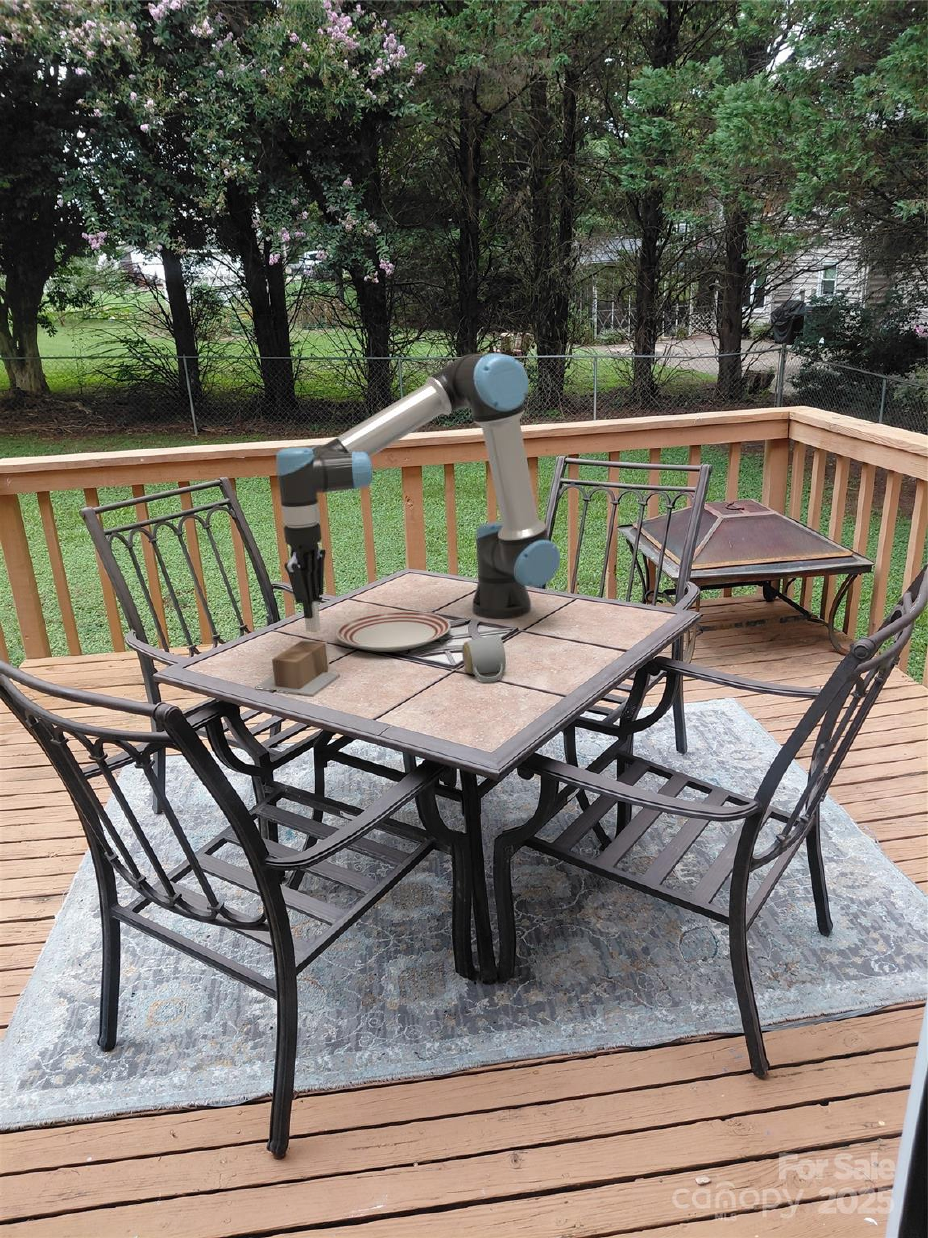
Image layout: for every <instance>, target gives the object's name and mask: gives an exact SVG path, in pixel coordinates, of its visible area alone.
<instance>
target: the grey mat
mask: <svg viewBox="0 0 928 1238" xmlns="http://www.w3.org/2000/svg"><path fill="white" fill-rule="evenodd" d="M339 678H340V673H333V672H326V671H325V672H323V673H322V674H320V675H319V676H318V677H316V678H315V679H314V680H312V681H311V682H309V683H308V684H307V685H305V686H304V687H303V688H301V689H293V688H286V687H278V686H275V680H274V674H272V675H271V676H269V677H268V678H266V679H264V680H263V681H262V682H260V683H259V684H258V685H256V686H255V687H257V688H263V689H269V690H278V691H283V692H288V693H293V694H292V695H296V694H301V695H300V696H304V695H307V696H306V697H311V696H313V697H315V696H316V695H317V694H319V693H320V692H321V691H322V690H324V689H326V688H327V687H328V686H329V685H331V684H332V683H333V682H334V681H336V680H338V679H339ZM259 686H260V687H259ZM320 690H321V691H320ZM319 691H320V692H319ZM318 692H319V693H318ZM288 693H287V694H288ZM315 694H316V695H315ZM314 695H315V696H314Z"/></svg>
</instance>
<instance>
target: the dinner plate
mask: <svg viewBox="0 0 928 1238" xmlns="http://www.w3.org/2000/svg"><path fill="white" fill-rule="evenodd" d="M450 629H451V622H450V621H449V620H448V619H447V618H445V617H443V616H441V615H438V614H435V613H430V612H423V611H412V610H411V611H407V610H406V611H386V612H385V611H384V612H379V613H378V612H377V613H372V614H367V615H363V616H358V617H356V618H353V619H350V620H348V621H346V622H344V623H343V624H341V625H340V626H338V627H337V628H336V630H335V636H336V638H337V639H338V640H339V641H340V642H342V643H343V644H346V645H348V646H351V647H354V648H357V649H362V650H366V651H371V652H379V653H380V652H381V653H384V652H385V653H393V652H394V653H395V652H403V651H409V650H412V649H416V648H420V647H422V646H424V645H427V644H430V643H432V642H434V641H437V640H438V639H440V638H441V637H443V636H445V635H446V634H447V633H449V631H450ZM408 649H409V650H408Z"/></svg>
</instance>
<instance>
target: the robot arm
mask: <svg viewBox="0 0 928 1238" xmlns="http://www.w3.org/2000/svg"><path fill="white" fill-rule="evenodd" d="M528 377H529V376H528V374H527V372H526V369H525V367H524V366H523V364H522V363H521V362H520V361H519V360H517V358H515V357H513V356H511V355H507V354H503V353H497V352H491V353H468V354H466V355H463V356H461V357H458V358H457V359H456V360H454V361H452V362H451V363H448V364H447V365H446V366H444V367H442V368H441V369H439V370H438V371H436V372H435V373H433V374H431V375H430V376H428V377H427V378H426V379H425V384H424V385H422V386H420V387H419V388H417V389H416V390H413V391H412V392H410V393H409V394H407V395H405V396H404V397H402V398H400V399H399V400H397V401H395V402H393V403H392V404H390V405H389V406H386V408H384V409H382V410H380V411H378V412H377V413H375V414H373V415H372V416H370V417H369V418H367V419H366V420H363V421H362V422H360V423H359V424H357V425H355V426H354V427H352V428H350V429H349V430H347V431H345V432H344V433H342V434H340V435H338V436H337V437H336V438H334V439H332V440H330V441H328V442H326V443H325V444H323V445H318V446H317V445H316V446H313V447H311V448H310V447H303V446H300V447H288V448H282V449H280V450H278V452H277V453H276V457H275V459H276V475H277V481H278V488H279V496H280V505H281V513H282V522H283V524H284V527H283V534H284V542H285V543H286V545H289V546H290V553H289V555H290V560H289V562H285V563H284V565H283V567H284V569H285V571H286V572H287V575H288V578H289V582H290V586H291V589H292V593H293V597H294V600H295V603H296V604H302V609H303V617H304V623H305V631H306V632H308V633H309V632H311V633H319V632H320V631H321V630H322V629H321V623H320V620H321V619H320V610H319V609H320V608H319V602H321V601H323V597H322V596H323V595H324V587H325V586H324V581H325V580H324V579H325V577H324V576H325V575H324V574H325V558H326V554H327V553H326V552H327V551H326V549H320V548H319V544H318V543H320V542H321V541H322V529H321V524H320V523H319V522H320V521H321V517H320V516H321V515H320V509H319V499H318V494H322V493H329V492H338V491H348V490H358V489H361V488H363V489H364V488H367V487H369V486H370V485H371V484H372V482H373V475H374V474H373V464H372V460H371V458H373V456H374V455H377V454H378V453H380V452H381V451H384V450H385V449H386V448H388V447H389V446H391V445H394V443H396V442H398V441H399V440H401V439H403V438H404V437H406V436H408V435H410V434H411V433H413V432H414V431H416V430H417V429H419V428H420V427H423V426H424V425H426V424H427V423H429V422H431V421H433V420H434V419H435V418H438V417H439V416H441V415H442V414H443V415H446V416H449V415H450V414H452V413H454V412H456V411H458V410H461V409H463V408H468V407H470V410H471V416H472V420H473V422H474V424H476V425H478V426H479V427H481V430H482V434H483V440H484V444H485V450H486V453H487V458H488V463H489V467H490V473H491V477H492V482H493V487H494V492H495V496H496V502H497V506H498V512H499V517H500V520H501V521H493V522H486V523H483V524H480V525H479V526H478V527H476V533H475V534H476V536H475V542H476V560H477V578H478V579H477V585H476V588H475V592H474V595H473V598H472V599H473V600H472V603H471V604H472V612H473V614H475V615H477V616H480V617H482V618H489V619H491V618H492V619H507V618H509V619H511V618H516V617H521V616H523V615H526V614H527V613H529V612H530V611H531V610H532V605H531V604H532V601H531V597H530V595H529V593H528V589H527V587H530V588H533V587H534V588H536V587H542V586H544V585H546V584H547V583H548V582H550V581H551V580H552V579H553V578H554V577H555V574H556V573H557V572H558V569H559V568H560V564H561V553H560V550H559V548H558V547H557V545H556V544H555V543H554V542H553V541H551V540H549V535H548V529H547V526H546V523H545V522H543V521H542V520H541V519H539V517H538V511H537V506H536V501H535V496H534V490H533V486H532V485H533V484H532V479H531V475H530V474H531V473H530V469H529V465H528V458H527V453H526V448H525V443H524V439H523V438H524V437H523V432H522V427H521V422H520V419H521V417H522V416H523V414H524V413H525V407H524V401H525V399H526V396H527V395H528V392H529V387H530V385H529V378H528Z"/></svg>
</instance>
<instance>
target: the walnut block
mask: <svg viewBox="0 0 928 1238" xmlns="http://www.w3.org/2000/svg"><path fill="white" fill-rule="evenodd" d="M271 663H272V670H273V671H272V672H273V675H274V680H275V686H278V687H286V688H293V689H301V688H303V687H304V686H305V685H307V684H308V683H309V682H311V681H312V680H314V679H315V678H316V677H318V676H319V675H320V674H322V673H323V672H325V673H326V671H327V670H329V669H330V662H329V649H328V642H326V641H317V640H310V639H309V640H308V639H302V640H300V641H299V642H298V643H296V644H294V645H293V646H290V647H289V648H288V649H286V650H285V651H283V652H281V653H280V654H279V655H277V656H275V657H274V658H272V659H271Z"/></svg>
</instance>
